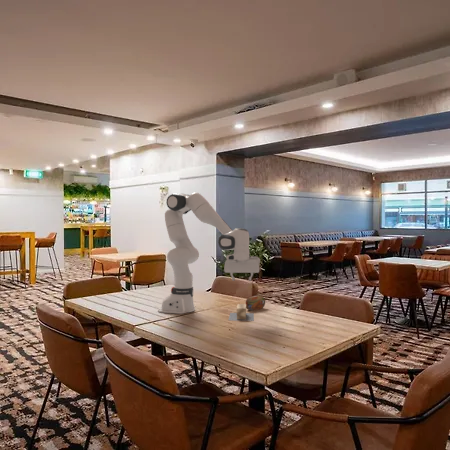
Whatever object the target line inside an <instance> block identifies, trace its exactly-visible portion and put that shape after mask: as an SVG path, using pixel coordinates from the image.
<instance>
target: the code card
mask: <svg viewBox="0 0 450 450" xmlns="http://www.w3.org/2000/svg"><path fill="white" fill-rule="evenodd" d="M254 317H255V314H254V312H252V313H250V312H249V313H248V312H246V319H237V312H229V317H228V321H232V322H233V321H237V322H238V321H239V322H241V321H242V322H245V321H247V322H254V320H255V319H254Z"/></svg>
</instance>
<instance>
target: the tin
mask: <svg viewBox="0 0 450 450" xmlns="http://www.w3.org/2000/svg"><path fill="white" fill-rule="evenodd" d="M245 304H246V310H248V311H256V310H257V311H258V310H262V309H264V307H265V305H266V299H265V297H264V296H263V295H253V296H249V297H248V298H246V300H245Z"/></svg>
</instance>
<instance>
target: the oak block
mask: <svg viewBox="0 0 450 450" xmlns="http://www.w3.org/2000/svg"><path fill="white" fill-rule="evenodd" d="M236 313H237V319H246V313H247V308H246V303H237V306H236Z"/></svg>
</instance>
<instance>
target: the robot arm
mask: <svg viewBox="0 0 450 450" xmlns="http://www.w3.org/2000/svg"><path fill="white" fill-rule="evenodd" d="M166 206H167V208H168V209H167V210H166V211H165V213H164V222H165V226H166V230H167V234H168V238H169V240H170V242H172V243H173V245H174V246H175V248H172V249H170V250H169V251H168V253H167V256H166V257H167V262H168V264H169V265H170V266H171V267H172V271H173V275H174V277H173V278H174V286H172V287H171V289H170V294H169V295H168V296H166V297H165V298H164V299H163V300H162V302H161V306H160V307H158V309H157V312H158V313H165V314H180V315H181V314H185V313H192V312H195V311H196V308H195V303H194V286H193V284H194V283H193V278H194V277H193V273H192V272H191V270H190V268H189V265H190V264H193V263H195V262H197V260H198V259H199V257H200V252H199V249H197V248H196V247H195V246H194V245H193V243H192V241H191V239H190V238H189V235H188V233H187V228H186V226H185V225H186V224H185V222H184V219H183V215H186V214H188V213H189V212H190V211H191V212H192V213H193V214H194V216H195V217H196V218H197V219H198V220H199V221H200V222H202V223H203V224H208V225H210V226H213V228H214V227H215V228H216V229H217V230H218V231H219V232H220V233H221V235H220V236H219V238H218V241H217V243H218V246H219V248H220V249H221V250H224V251H231V250H232V251H233V253H231V254H227V255H226V256H225V257H226V260H225V262H224V267H223V268H224V269H223V272H224V273H225V274H226V273H229V275H230V277H231V281H235V280H236V277H235V276H234V275H233V274H235V273H237V274H238V273H239V274H240V273H241V274H242V273H243V274H246V273H248V274H249V273H250V276H249V277H248V281H249V282H251V281H252V278H253V277H254V274H258V273H260V263H261V258H260V257H258V256H255V255H254V256H252V255H250V247H249V245H250V234H249V230H248V229H246V228H243V227H236V228H234V229H232V227H230V225H229V224H228V223H227V222H226V221H225V220H224V219H223V218H222V217H221V216H220V215H219V213H218V212H217V211H216V209H214V208H213V206H212V204H210V202H209V201H208V200H207V199H206V198H205V197H204V196H203V195H202V194H201V193H199V192H192V193H191V194H185V193H171V194H169V195H168V197H167V198H166Z"/></svg>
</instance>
